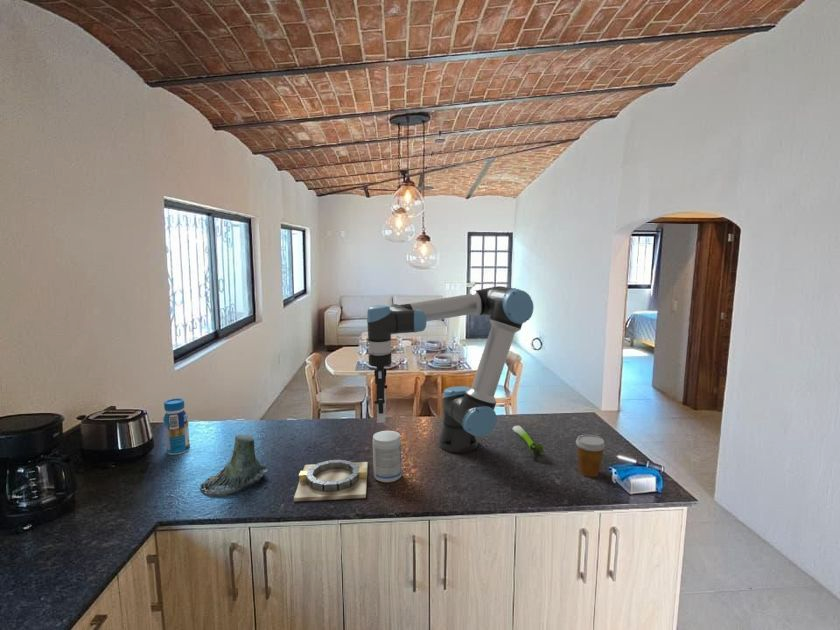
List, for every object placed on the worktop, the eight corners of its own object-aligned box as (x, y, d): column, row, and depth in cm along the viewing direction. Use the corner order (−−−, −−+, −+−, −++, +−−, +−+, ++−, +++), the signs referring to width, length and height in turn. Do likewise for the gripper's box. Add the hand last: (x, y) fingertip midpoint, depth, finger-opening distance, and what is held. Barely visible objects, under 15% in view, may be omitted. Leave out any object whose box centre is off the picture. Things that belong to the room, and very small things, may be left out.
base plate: (367, 465, 169) (367, 461, 169) (365, 497, 148) (365, 494, 147) (305, 467, 167) (305, 464, 167) (294, 501, 146) (293, 497, 146)
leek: (524, 434, 201) (549, 460, 171) (508, 437, 200) (530, 464, 170) (523, 420, 200) (547, 444, 170) (507, 423, 200) (528, 447, 170)
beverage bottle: (160, 453, 180) (156, 403, 177) (179, 444, 188) (175, 396, 184) (177, 457, 177) (172, 405, 174) (195, 448, 184) (191, 398, 181)
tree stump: (200, 476, 163) (210, 425, 162) (260, 479, 170) (270, 430, 170) (198, 500, 146) (209, 443, 146) (264, 502, 154) (275, 448, 153)
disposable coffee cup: (603, 468, 165) (604, 436, 164) (604, 481, 157) (606, 447, 155) (574, 464, 169) (576, 432, 167) (574, 477, 160) (575, 443, 158)
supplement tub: (406, 478, 160) (406, 437, 157) (382, 486, 154) (381, 443, 152) (392, 467, 168) (391, 427, 165) (368, 474, 162) (367, 434, 160)
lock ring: (367, 465, 167) (366, 458, 166) (365, 490, 150) (365, 482, 149) (304, 468, 165) (303, 461, 164) (295, 493, 148) (295, 486, 148)
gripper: (370, 344, 167) (371, 402, 170) (366, 362, 143) (368, 429, 146) (391, 344, 168) (392, 401, 171) (391, 361, 143) (393, 428, 146)
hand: (381, 414), depth 158 cm, fingers open, 13 cm apart
